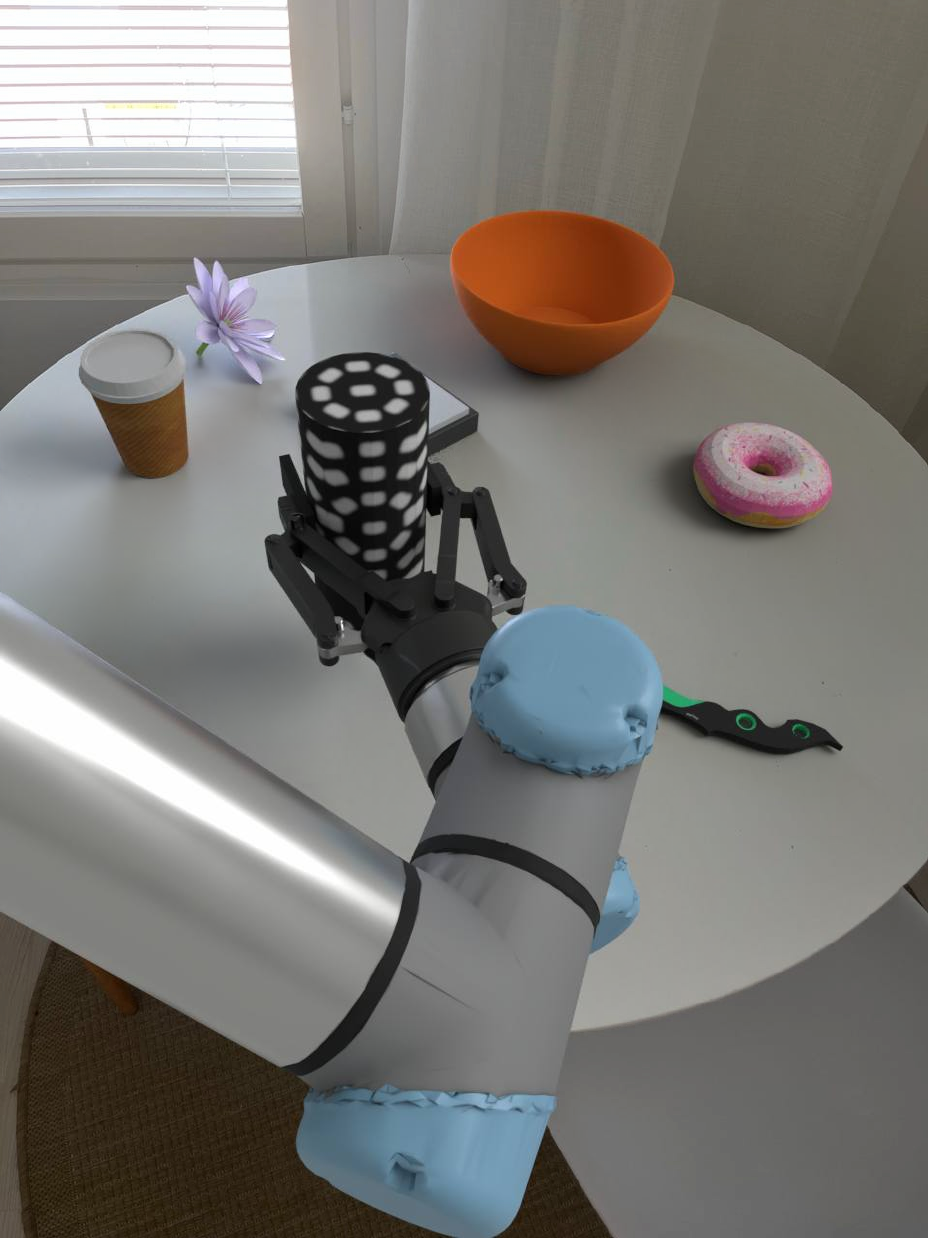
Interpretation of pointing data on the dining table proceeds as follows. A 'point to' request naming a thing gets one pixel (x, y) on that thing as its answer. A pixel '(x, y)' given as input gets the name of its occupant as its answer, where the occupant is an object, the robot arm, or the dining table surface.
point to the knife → (760, 736)
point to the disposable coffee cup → (140, 398)
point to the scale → (446, 416)
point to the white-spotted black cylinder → (366, 463)
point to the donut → (757, 500)
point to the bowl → (559, 287)
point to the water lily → (230, 317)
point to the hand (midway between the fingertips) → (346, 457)
